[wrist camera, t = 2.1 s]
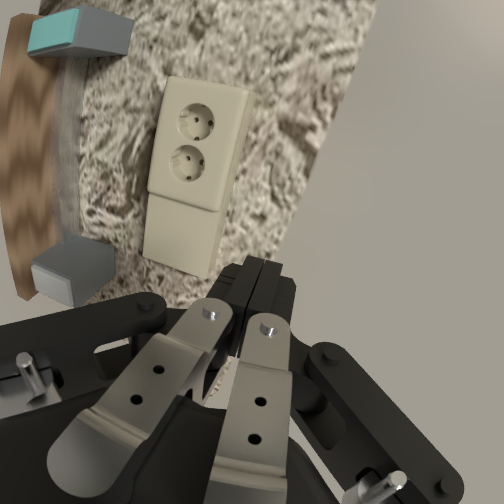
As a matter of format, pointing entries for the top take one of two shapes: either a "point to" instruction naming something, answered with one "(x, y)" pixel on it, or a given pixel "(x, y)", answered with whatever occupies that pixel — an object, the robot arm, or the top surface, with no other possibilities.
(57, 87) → the metal rail
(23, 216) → the mounting panel
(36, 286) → the block
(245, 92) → the electrical outlet
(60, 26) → the module
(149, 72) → the top surface
